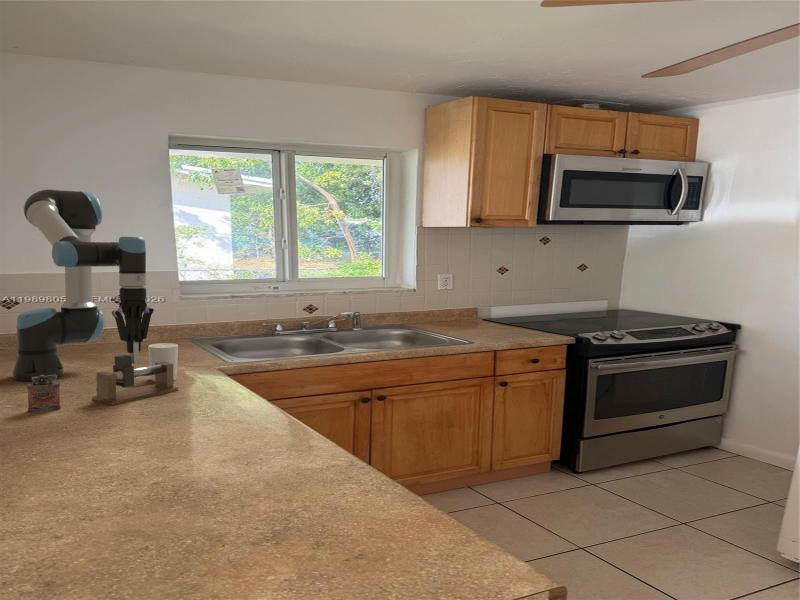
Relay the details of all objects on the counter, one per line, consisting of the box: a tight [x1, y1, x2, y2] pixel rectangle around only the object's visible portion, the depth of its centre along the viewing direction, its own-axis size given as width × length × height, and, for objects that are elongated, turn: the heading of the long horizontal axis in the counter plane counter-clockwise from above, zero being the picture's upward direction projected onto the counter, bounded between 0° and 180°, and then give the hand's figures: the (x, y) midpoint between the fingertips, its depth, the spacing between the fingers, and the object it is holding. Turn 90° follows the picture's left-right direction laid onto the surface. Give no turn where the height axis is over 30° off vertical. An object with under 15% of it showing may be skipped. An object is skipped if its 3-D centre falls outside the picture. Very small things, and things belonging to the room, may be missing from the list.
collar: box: [112, 354, 135, 388], centre depth 185 cm, size 6×3×9 cm, turn 57°
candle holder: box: [147, 342, 179, 382], centre depth 211 cm, size 10×10×12 cm
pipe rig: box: [91, 361, 179, 406], centre depth 189 cm, size 10×23×9 cm, turn 147°
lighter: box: [26, 375, 62, 413], centre depth 171 cm, size 8×3×10 cm, turn 117°
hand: (134, 362), depth 188 cm, fingers closed
